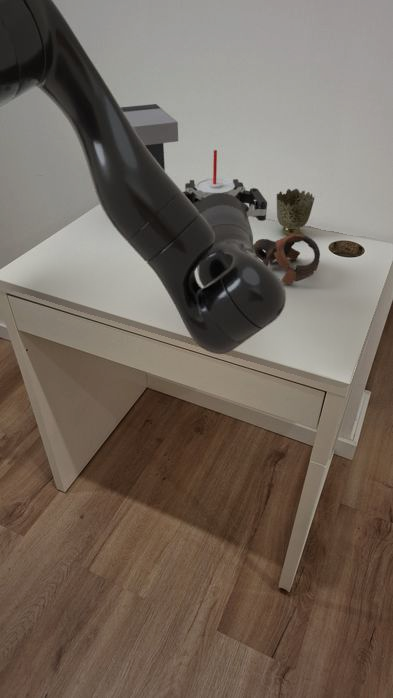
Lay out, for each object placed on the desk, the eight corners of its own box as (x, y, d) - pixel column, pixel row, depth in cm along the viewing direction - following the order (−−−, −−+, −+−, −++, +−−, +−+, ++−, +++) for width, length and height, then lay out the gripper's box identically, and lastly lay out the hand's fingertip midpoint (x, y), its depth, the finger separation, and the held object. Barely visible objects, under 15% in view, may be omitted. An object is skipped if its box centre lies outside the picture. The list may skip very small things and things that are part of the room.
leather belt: (310, 260, 92) (328, 236, 85) (303, 302, 89) (320, 281, 81) (251, 242, 92) (263, 216, 84) (241, 283, 88) (253, 260, 81)
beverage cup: (196, 231, 80) (196, 143, 71) (233, 232, 80) (237, 144, 71) (192, 248, 76) (191, 156, 67) (231, 250, 75) (235, 158, 66)
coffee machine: (181, 226, 103) (177, 121, 90) (126, 235, 100) (114, 128, 87) (161, 200, 114) (156, 103, 100) (111, 208, 111) (99, 109, 97)
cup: (287, 244, 97) (291, 206, 91) (265, 230, 101) (269, 193, 96) (316, 235, 99) (322, 198, 94) (294, 222, 104) (298, 186, 99)
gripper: (280, 204, 59) (261, 160, 72) (164, 207, 59) (165, 161, 72) (274, 259, 64) (257, 207, 77) (166, 261, 64) (167, 209, 77)
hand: (213, 185), depth 74 cm, fingers closed on beverage cup, 6 cm apart
